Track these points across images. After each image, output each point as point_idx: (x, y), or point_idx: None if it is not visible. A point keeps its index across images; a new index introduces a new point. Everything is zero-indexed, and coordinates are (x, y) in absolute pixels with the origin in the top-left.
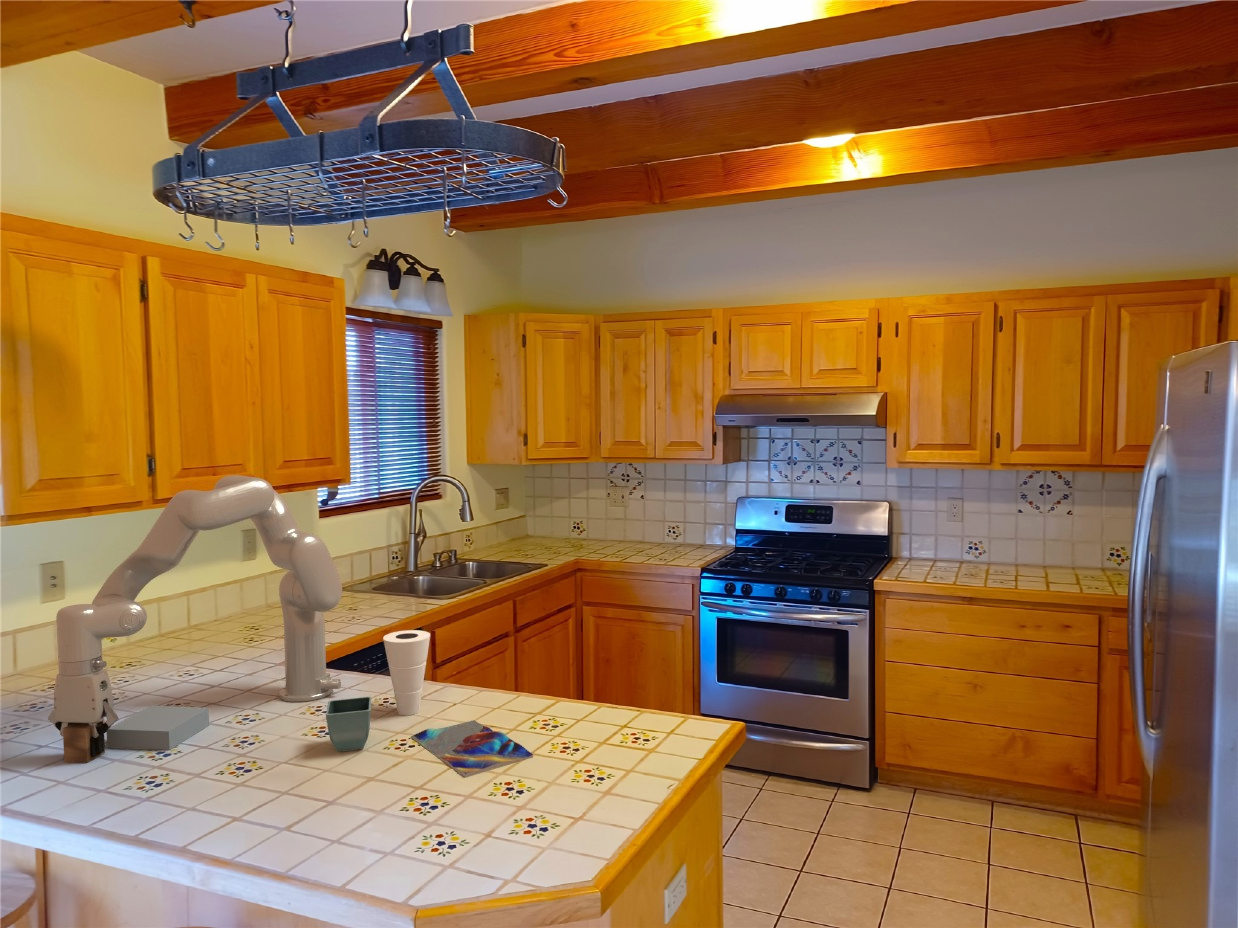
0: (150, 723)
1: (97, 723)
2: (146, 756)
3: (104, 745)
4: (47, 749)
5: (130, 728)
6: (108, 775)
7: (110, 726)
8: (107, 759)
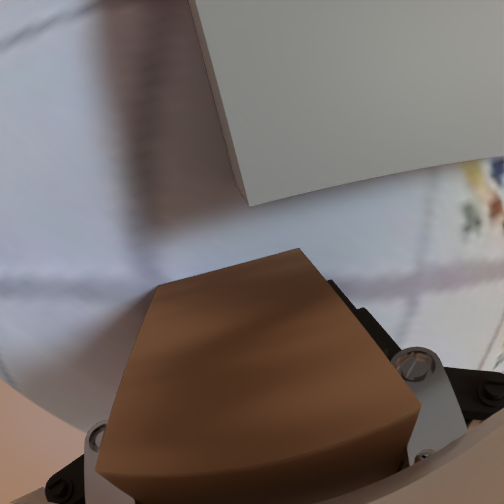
0: (470, 26)
1: (400, 451)
2: (483, 213)
3: (368, 314)
4: (4, 311)
5: (449, 128)
6: (448, 362)
7: (489, 375)
8: (375, 297)
